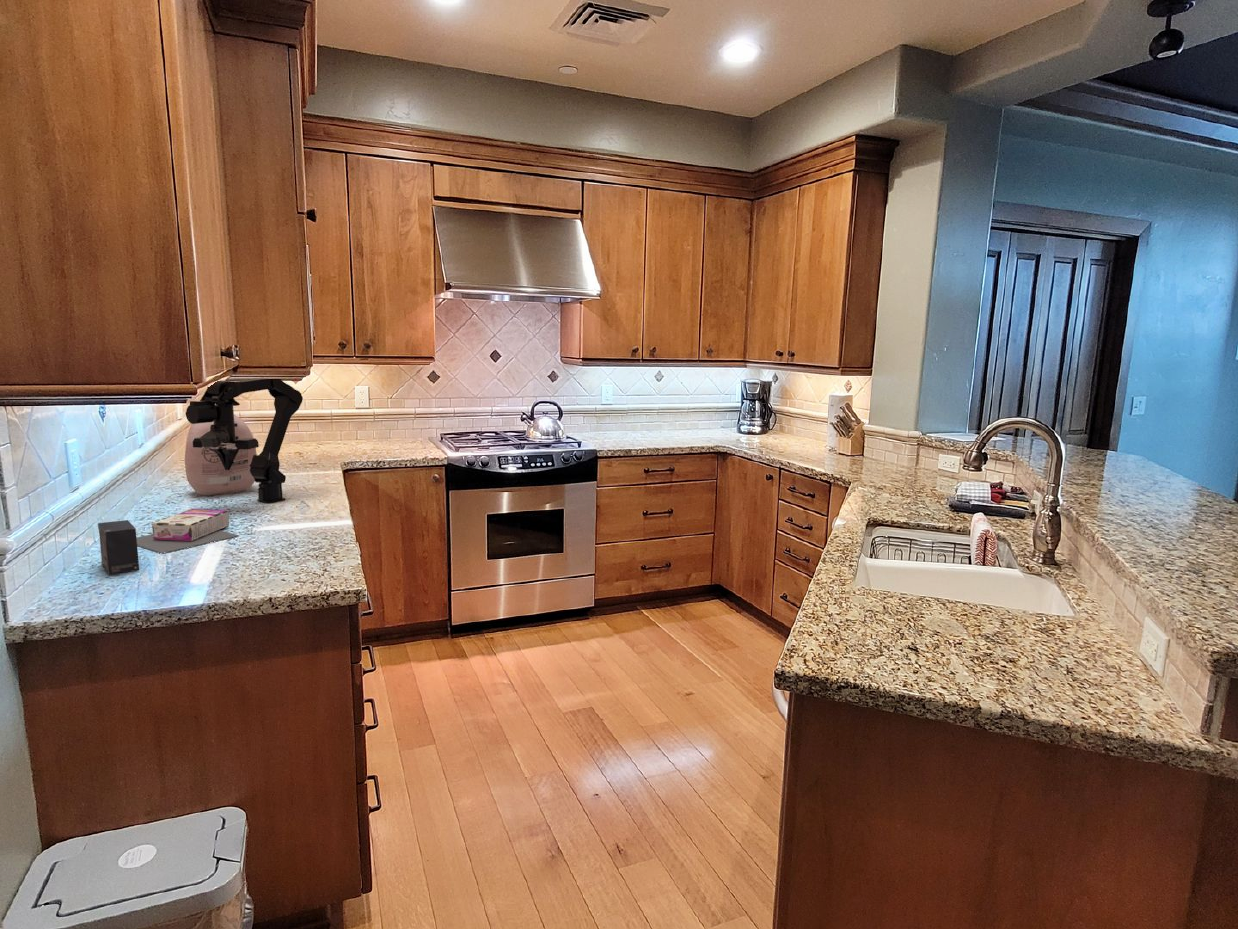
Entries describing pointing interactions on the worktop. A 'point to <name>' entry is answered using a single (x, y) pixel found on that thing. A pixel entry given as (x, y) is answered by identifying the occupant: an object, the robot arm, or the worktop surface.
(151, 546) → the mat
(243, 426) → the packaged food
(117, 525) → the small box
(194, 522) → the candy bar box
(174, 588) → the worktop surface
